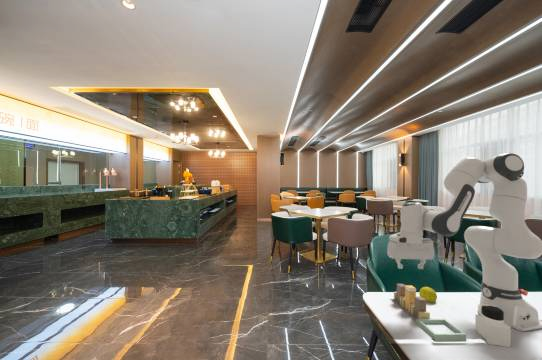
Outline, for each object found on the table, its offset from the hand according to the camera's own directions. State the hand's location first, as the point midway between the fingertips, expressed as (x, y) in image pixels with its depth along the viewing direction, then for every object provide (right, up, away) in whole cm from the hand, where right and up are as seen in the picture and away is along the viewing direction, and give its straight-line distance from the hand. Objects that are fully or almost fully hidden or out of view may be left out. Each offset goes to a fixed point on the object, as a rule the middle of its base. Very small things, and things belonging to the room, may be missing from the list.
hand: (410, 268), depth 106 cm
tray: (+2, -19, -15) cm, 25 cm away
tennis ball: (+14, -20, +9) cm, 26 cm away
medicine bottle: (+20, -20, -18) cm, 33 cm away
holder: (0, -19, 0) cm, 19 cm away
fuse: (0, -18, 0) cm, 18 cm away
